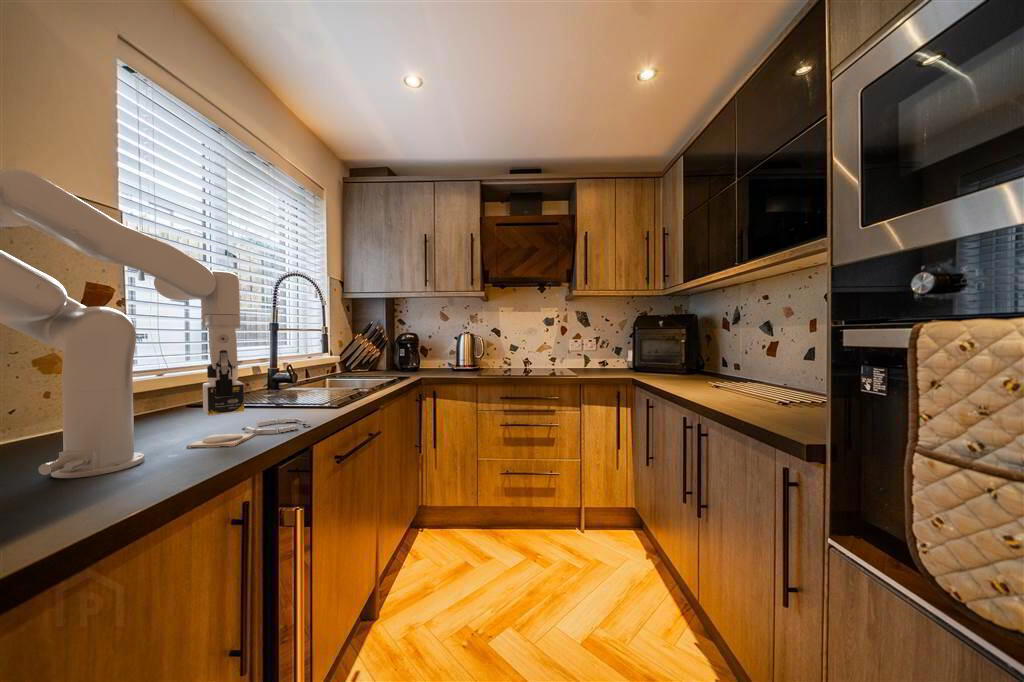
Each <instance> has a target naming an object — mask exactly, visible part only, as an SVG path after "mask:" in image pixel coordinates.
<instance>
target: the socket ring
mask: <svg viewBox="0 0 1024 682" xmlns="http://www.w3.org/2000/svg"><path fill="white" fill-rule="evenodd" d="M286 422H298V423H301V424H305V423H308V422H307V420H306V419H303V418H300V417H298V418H296V417H292V418H291V417H290V418H289V417H288V418H277V419H276V418H274V419H267V420H261V421H257V422H256V426H257V427H258V428H255V427H252V426H244V427H242V428H241V430H242V431H245V432H244V433H247V432H248V433H255V436H256V435H273V434H274V435H275V434H282V433H281V432H284V433H287V432H286V431H289V432H291V431H290V430H294V431H296V430H295V429H298V430H299V424H294V425H288V426H284V427H278V428H276V427H275V428H274V427H273V428H259V427H264V426H271V425H276V423H277V424H287V423H286ZM270 424H271V425H270ZM301 424H300V425H301ZM310 425H311V424H306V425H303V426H310ZM310 427H311V426H310ZM244 429H245V430H244Z"/></svg>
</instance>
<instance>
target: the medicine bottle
mask: <svg viewBox="0 0 1024 682" xmlns="http://www.w3.org/2000/svg"><path fill="white" fill-rule="evenodd" d="M230 365H231V364H230ZM219 367H221V366H219ZM234 368H235V366H231V379H232V386H233V395H232V396H228V397H216V383H215V380H217V373H216V370H215V369H213V367H212V364H209V365H207V367H206V369H207V371H206V372H207V373H206V374H207V377H206V378H207V381H208V382H204V383H202V403H203V404H202V409H203V410H202V411H203V413H205V415H207V416H208V417H213V416H219V415H227V414H228V415H229V414H236V413H242V412H245V392H244V391H245V387H244V385H245V384H244V383H243V382H241V381H239V366H238V367H237V368H236V369H234ZM219 374H220V373H219Z"/></svg>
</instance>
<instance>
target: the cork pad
mask: <svg viewBox="0 0 1024 682" xmlns="http://www.w3.org/2000/svg"><path fill="white" fill-rule="evenodd" d="M255 436H256V434H255V433H247V432H245V433H227V434H226V433H225V434H223V433H222V434H211V435H209V436H207V437H204V438H202V439H200V440H197V441H194V442H192V443H190V444H187V445H186V449H190V448H189V447H206V448H221V447H220V446H229V447H236V446H237V444H238V445H240V444H242V443H244V442H246V441H247V439H248V440H249V439H251V438H253V437H255ZM245 440H246V441H245ZM243 441H244V442H243ZM241 442H242V443H241ZM239 443H240V444H239ZM235 445H236V446H235Z"/></svg>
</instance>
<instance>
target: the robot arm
mask: <svg viewBox="0 0 1024 682" xmlns="http://www.w3.org/2000/svg"><path fill="white" fill-rule="evenodd" d="M25 226H28V227H30V228H32V229H34V230H36V231H38V232H40V233H42V234H44V235H46V236H47V237H50V238H52V239H54V240H56V241H58V242H60V243H61V244H63V245H65V246H67V247H69V248H71V249H73V250H75V251H77V252H79V253H81V254H83V255H84V256H86V257H89V258H91V259H93V260H97V261H100V262H103V263H108V264H113V265H119V266H123V267H128V268H131V269H133V270H136V271H139V272H143V273H144V274H147V275H149V276H152V277H153V278H154V279H153V286H154V289H155V290H156V292H157V293H159V294H160V295H161V296H162V297H164V298H165V299H169V300H173V301H191V300H200V301H201V302H200V303H201V304H200V305H201V329H208V346H209V347H208V348H209V358H210V363H211V364H212V367H213V369H215V370H216V373H217V380H215V383H216V397H228V396H232V395H233V386H232V379H231V366H235V368H234V369H236V368H237V367H238V368H239V366H238V345H237V331H236V329H241V299H240V297H241V295H240V278H239V276H238V274H237V273H234V272H232V271H224V270H210V269H209V268H208V267H207V266H206V265H204V264H203V263H201V262H200V261H198V260H197V259H195V258H193V257H192V256H191V255H188V254H187V253H185V252H184V251H183V250H180V249H178V248H177V247H176V246H173V245H171V244H168V243H167V242H165V241H163V240H160V239H157V238H155V237H153V236H150V235H148V234H146V233H143V232H141V231H139V230H137V229H134V228H132V227H130V226H127V225H124V224H122V223H121V222H118V220H116V219H114V218H113V217H110V216H109V215H107V214H105V213H104V212H102V211H100V210H99V209H97V208H95V207H94V206H92V205H90V204H88V203H87V202H85V201H83V200H82V199H80V198H79V197H77V196H76V195H74V194H71V193H70V192H68V191H66V190H65V189H63V188H62V187H60V186H58V185H56V184H55V183H53V182H52V181H50V180H48V179H47V178H45V177H42V176H40V175H38V174H36V173H34V172H32V171H28V170H25V169H17V168H12V169H11V168H10V169H4V170H0V228H9V227H10V228H11V227H12V228H13V227H25ZM0 324H2V325H4V326H7V327H9V328H10V329H12V330H15V331H17V332H19V333H21V334H24V335H26V336H28V337H30V338H32V339H34V340H36V341H39V342H41V343H43V344H46V345H48V346H51V347H53V348H54V349H57V350H60V351H62V352H63V358H62V359H63V360H62V367H61V369H62V370H61V391H62V392H61V395H62V397H61V400H62V401H61V402H62V405H61V406H62V440H63V441H62V442H63V445H62V446H63V448H62V449H63V450H62V451H61V452H60V451H59V452H58V458H57V459H55V460H52V461H48V462H45V463H42V464H40V465H39V466H38V472H39V474H41V475H42V476H43V475H45V476H46V475H49V474H50V476H51V477H52V478H55V479H56V478H57V479H76V478H86V477H87V478H88V477H93V476H99V475H104V474H109V473H114V472H119V471H123V470H126V469H129V468H132V467H135V466H138V465H140V464H141V463H144V461H145V453H142V452H135V438H134V436H135V433H134V431H135V429H134V426H135V425H134V385H133V382H134V381H133V379H134V378H133V376H134V375H133V374H134V373H133V371H134V370H133V368H134V356H135V350H136V344H137V343H136V342H137V331H136V328H135V325H134V323H133V321H132V320H131V318H129V316H128V315H126V314H124V313H123V312H121V311H120V310H117V309H115V308H111V307H107V306H86V305H84V304H81V302H79V301H76V300H74V299H73V298H71V297H69V296H68V293H67V291H66V289H65V287H64V285H62V284H61V283H60V282H59V281H58V280H57V279H55V278H54V277H52V276H50V275H48V274H47V273H44V272H42V271H40V270H39V269H36V268H35V267H33V266H31V265H29V264H27V263H25V262H24V261H21V260H20V259H19V258H16V257H14V256H13V255H11V254H9V253H8V252H5V251H4V250H2V249H0ZM211 364H210V365H211ZM230 364H231V365H230ZM219 366H221V367H219ZM219 373H220V374H219Z"/></svg>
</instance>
